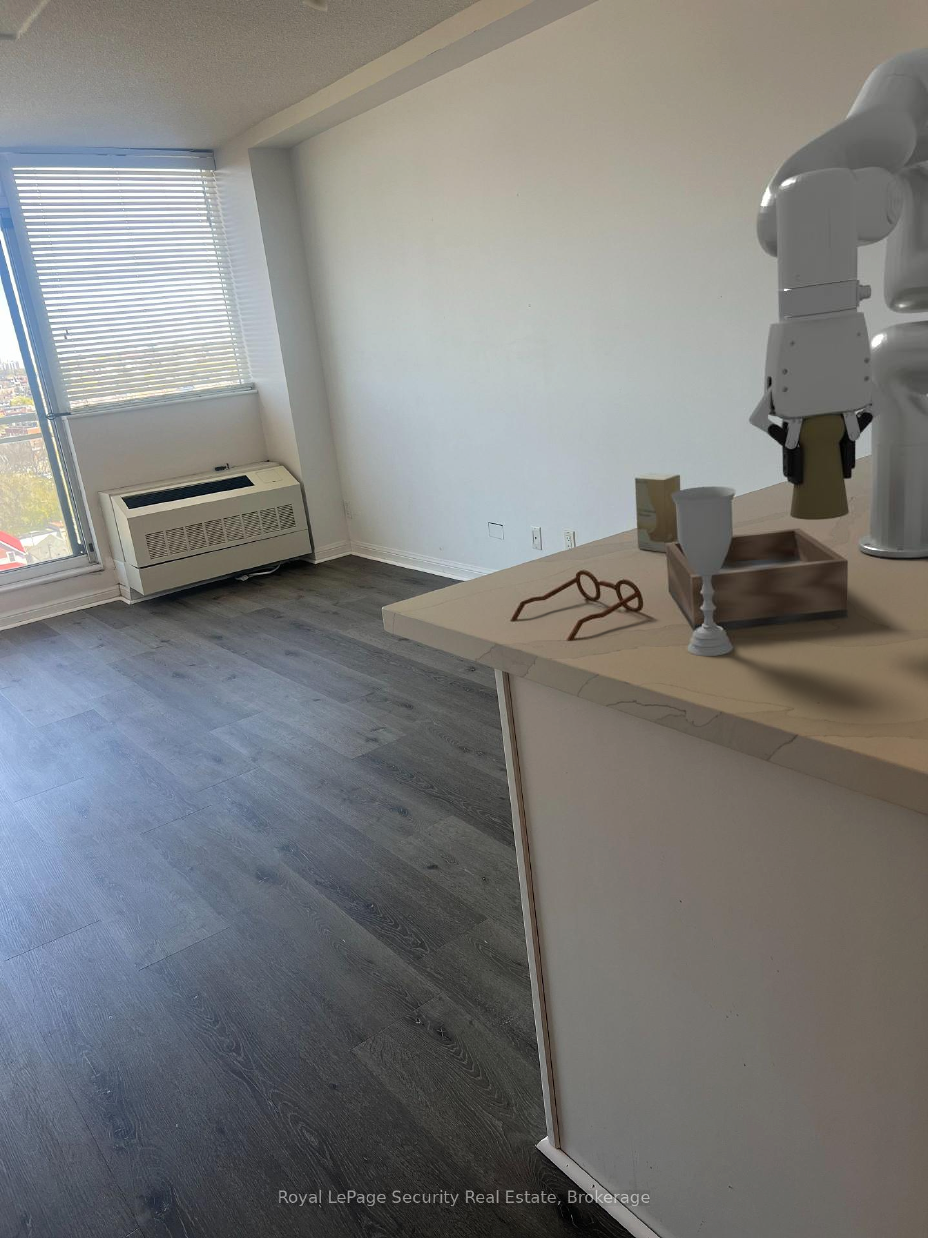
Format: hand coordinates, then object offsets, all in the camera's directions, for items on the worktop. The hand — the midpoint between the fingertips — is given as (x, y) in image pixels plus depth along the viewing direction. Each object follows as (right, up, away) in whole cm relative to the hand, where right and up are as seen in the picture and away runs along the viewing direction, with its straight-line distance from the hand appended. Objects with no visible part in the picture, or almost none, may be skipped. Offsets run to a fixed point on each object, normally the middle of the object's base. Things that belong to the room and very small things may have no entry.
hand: (818, 478), depth 96 cm
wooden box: (-1, -13, +18) cm, 23 cm away
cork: (+1, -4, +1) cm, 4 cm away
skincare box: (-6, -4, +51) cm, 52 cm away
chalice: (-10, -19, +5) cm, 22 cm away
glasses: (-24, -16, +22) cm, 36 cm away
